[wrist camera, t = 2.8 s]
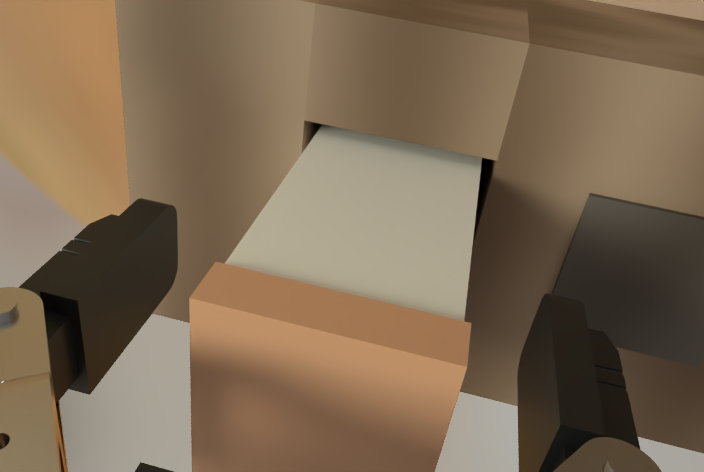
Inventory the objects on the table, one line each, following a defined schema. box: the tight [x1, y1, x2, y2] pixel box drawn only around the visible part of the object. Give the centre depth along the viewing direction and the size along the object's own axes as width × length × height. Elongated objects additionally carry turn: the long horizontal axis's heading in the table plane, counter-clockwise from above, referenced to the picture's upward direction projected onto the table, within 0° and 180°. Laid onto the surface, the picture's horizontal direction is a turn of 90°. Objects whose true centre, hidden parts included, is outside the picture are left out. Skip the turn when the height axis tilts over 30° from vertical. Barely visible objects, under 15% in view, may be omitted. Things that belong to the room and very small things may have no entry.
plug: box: [189, 124, 482, 472], centre depth 16 cm, size 4×4×12 cm
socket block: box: [115, 0, 704, 453], centre depth 18 cm, size 22×10×6 cm, turn 82°
